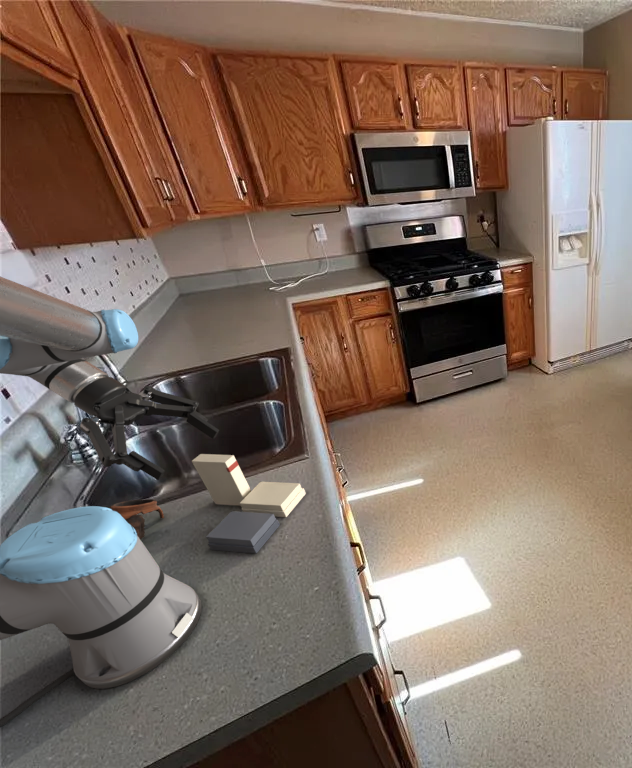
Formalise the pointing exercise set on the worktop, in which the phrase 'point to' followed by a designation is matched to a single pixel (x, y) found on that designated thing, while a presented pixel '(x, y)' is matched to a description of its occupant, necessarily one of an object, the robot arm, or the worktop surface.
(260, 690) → the worktop surface
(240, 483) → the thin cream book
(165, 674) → the worktop surface
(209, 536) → the grey books
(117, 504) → the brown footed bowl
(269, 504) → the cream books
